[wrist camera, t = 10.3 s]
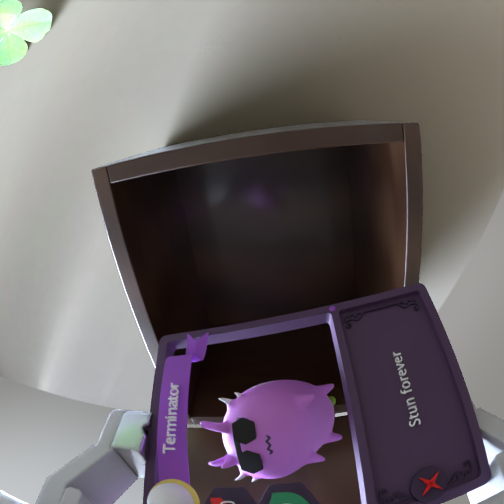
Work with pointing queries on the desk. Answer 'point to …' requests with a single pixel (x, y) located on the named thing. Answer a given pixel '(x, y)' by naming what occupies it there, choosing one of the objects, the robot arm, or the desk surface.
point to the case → (263, 242)
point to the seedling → (20, 29)
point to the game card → (331, 409)
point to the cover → (311, 475)
